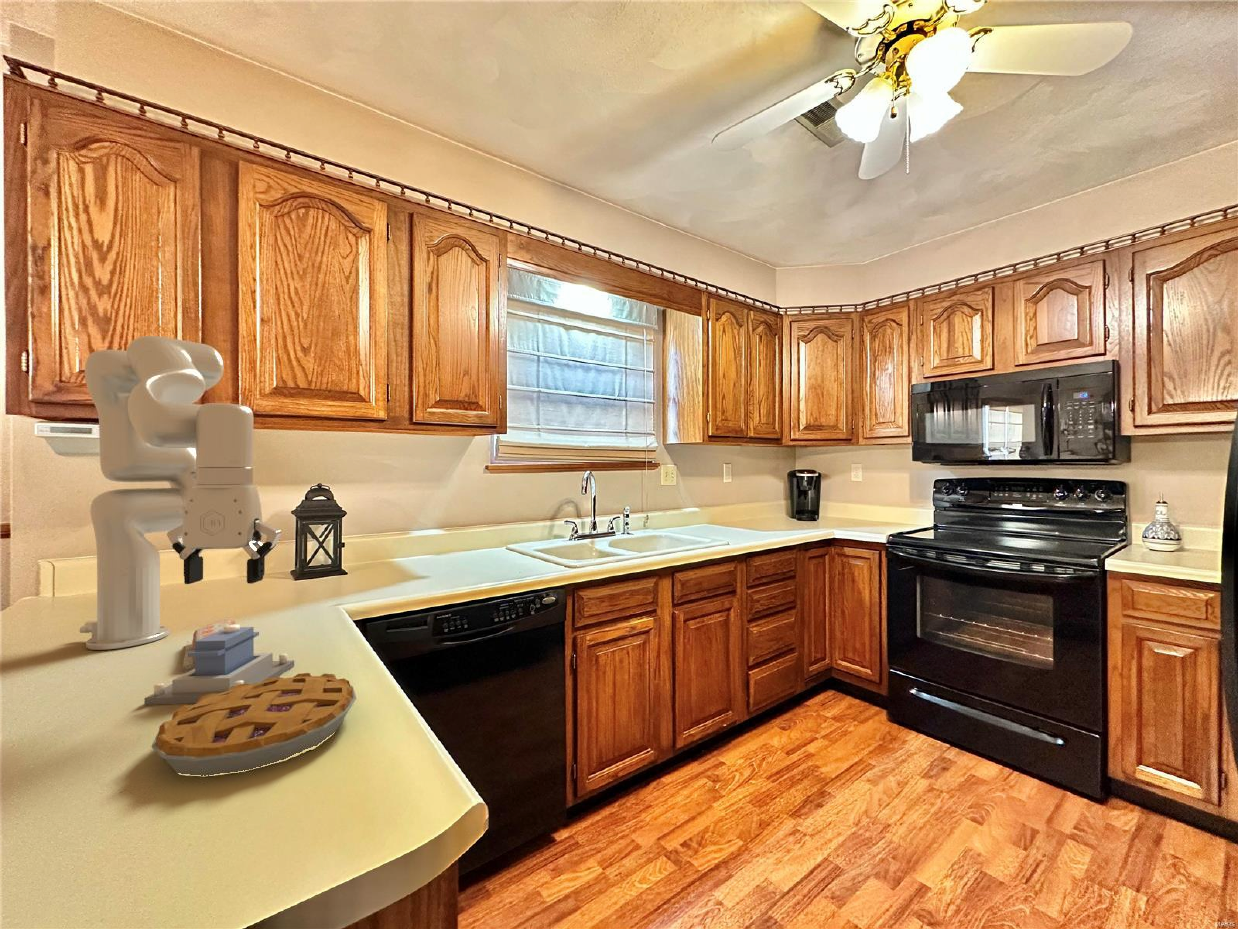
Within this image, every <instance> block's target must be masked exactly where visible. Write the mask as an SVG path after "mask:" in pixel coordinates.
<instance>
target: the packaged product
mask: <svg viewBox="0 0 1238 929" xmlns="http://www.w3.org/2000/svg"><path fill="white" fill-rule="evenodd" d="M233 624H237V622H236V621H235V620H229V619H224V620H223V619H222V620H220V621H217V622H214V623H210V624H207V625H205V626H202V627H199V628H197V629H195V631H194V632H193V636H192V641H186V646H185V652H184V657H183V665H182V671H183V672H185V671H186V672H189V671H191V670H193V669H195V657H188V653H189V652H191V651H193V650H195V641H197V640H199V639H202V638H204V637H206V636H209V635H211V634H213V633H215V632H218V631H220V630H222V629H224V627H225V626H228V625H233ZM186 672H185V673H186Z"/></svg>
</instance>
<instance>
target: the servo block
mask: <svg viewBox="0 0 1238 929" xmlns="http://www.w3.org/2000/svg"><path fill="white" fill-rule="evenodd" d="M254 628H255V627H254V626H242V627H241V624H239V623H238V624H237V623H236V624H233V625H228V626H225V627H224V629H222V630H220V631H218V632H215V633H213V634H211V635H209V636H206V637H204V638H202V639H199V640H197V641H195V650H193V651H191V652H189V653H188V657H195V676H216V675H228V674H230V673H231V672H233V671H235V670H237V669H238V668H240V667H242V666H244V665H245V664H247V663H249V662H251V661H253V660H254V652H255V651H254V650H255V649H254V648H255V647H254V639H255V638H256V637H259V636H260V631H255V630H254Z"/></svg>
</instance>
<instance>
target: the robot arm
mask: <svg viewBox="0 0 1238 929" xmlns="http://www.w3.org/2000/svg"><path fill="white" fill-rule="evenodd" d="M224 369H225V367H224V361H223V358H222V356H221V355H220V353H219V351H218V350H216V349H215V348H214V347H213V346H211V345H208V344H206V343H200V342H194V341H189V340H184V339H177V338H172V337H164V336H159V335H146V336H140V337H137V338H136V339H134V340H132V341H131V342H130V343H129V344H128V345H127V348H126V350H122V349H102V350H101V349H100V350H96V351H94V352H92V353H91V354H89V355H88V357H87V358H86V361H85V366H84V379H85V384H86V386H87V390H88V393H89V395H90V397H91V400H92V401H93V404H94V406H95V408H96V409H95V410H96V412H97V414H98V416H97V417H98V422H99V423H98V427H99V428H98V429H99V430H98V431H99V432H98V434H99V435H98V437H99V438H98V439H99V440H98V441H99V464H100V471H101V473H102V475H103V476H104V478H105V479H107V480H108V481H113V482H118V483H122V482H123V483H156V482H158V483H162V482H163V483H164V482H166V483H168V484H169V485H170V487H161V488H160V487H156V488H155V487H143V488H137V487H136V488H120V489H113V490H108V491H105V492H102V493H100V494H98V495H96V497H95V498H94V499H93V500H92V501H91V504H90V518H91V522H92V527H93V532H94V536H95V544H96V620H92V621H89V620H88V621H86V622H85V624H84V625H83V626H81V627H80V628H79V631H78V632H79V633H81V634H87V633H88V634H90V633H91V638H89V639H88V640H87V641H86V642H85V647H86V648H87V649H89V650H92V651H93V650H97V651H101V650H102V651H105V650H107V651H108V650H115V649H116V650H117V649H123V648H129V647H130V648H131V647H134V646H139V645H144V644H148V643H152V642H154V641H155V642H156V641H158V640H161V639H164V638H165V637H167V636H168V635H169V634H170V631H171V630H170V627H169V626H165V625H161V556H160V555H161V554H160V551H159V550H158V548H157V547H156V546H155V545H154V544H153V543H152V542H151V541H150V540H148V539H147V538H146V537H145V535H146V534H152V533H162V532H163V533H164V532H167V533H166V536H167V539H168V540H169V541H170V543H171V544H172V545H171V546H172V547H171V548H172V549H173V550H174V551H175V552H176V553H177V554H178V555H179V556H178V557H179V559H180V560H183V577H184V578H183V579H184V581H183V583H184V584H185V585H190V584H195V583H198V582H201V581H202V580H203V579H204V557H203V556H202V555H201V553H202V552H203V551H204V550H226V549H227V550H229V549H230V550H233V549H234V550H235V549H241V548H242V549H243V550H244V551H245V552H246V554H247V555H248V556H249V557H250V558H249V559H247V560H246V583H247V584H250V585H251V584H254V583H258V582H261V581H263V579H264V575H265V567H266V566H265V558H266V557H267V556H268V555H269V554H270V552H271V551H272V550H273V549H274V548H275V547H276V546H277V542H278V541H279V539H280V537H281V535H282V531H281V530H280V529H277V528H275V527H273V526H271V525H270V524H267V523H265V522H264V521H263V515H262V514H263V513H262V505H261V504H262V503H261V501H260V500H261V499H260V495H259V491H258V488H257V486H254V413H253V410H252V409H251V408H250V407H249V406H245V405H242V404H235V403H226V402H225V403H224V402H209V403H204V404H197V403H196V402H198V401H199V400H200V399H201V398H202V396H203V395H204V393H205V391H208V390H209V389H211V388H213V387H215V385H217V384H218V383H219V382H220V380H221V379H222V377H223V375H224ZM195 403H196V404H195ZM263 534H264V535H265V536H266V539H265V542H263V543H262V542H261V541H262V539H263ZM200 555H201V556H200Z"/></svg>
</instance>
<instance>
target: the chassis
mask: <svg viewBox="0 0 1238 929" xmlns="http://www.w3.org/2000/svg"><path fill="white" fill-rule="evenodd" d="M273 655H274V654H273V652H260V653H259V652H258V653H257V652H255V653H254V660H253V661H251V662H249V663H247V664H245V665H244V666H242V667H240V668H238V669H237V670H235V671H233V672H231V673H230V674H228V675H216V676H195V669H193V670H191V671H186V672H185V673H183V674H181V675H179V676H177V677H175V678H173V679H172V681H171V682H172V683H171V684H169V685H165V683H164V682H161V683H160V682H159V683H156V684H154V685H153V689H154V690H153V693H152V694H150V695H148V696H146V697H144V699H143V700H144V701H143V702H144V706H153V705H176V704H179V705H180V704H181V705H183V704H196V703H197V701H198V699H199V697H201V696H204V695H208V694H212V693H214V694H219V693H222V692H225V691H228V690H230V688H231V687H232V686H236V685H240V684H243V683H246V684H249V685H250V684H255V683H260V682H262V681H264V680H266V679H269V678H276V677H278V676H279V677H280V676H282V675H283V674H285V673H286V672H287V671H289V670H290V668H291V667H292V668H294V667H295V660H288V653H281V654H279V655H278V660H273V659H274V658H273ZM292 668H291V669H292ZM285 671H286V672H285ZM284 672H285V673H284ZM281 674H282V675H281ZM165 686H166V687H165Z"/></svg>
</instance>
